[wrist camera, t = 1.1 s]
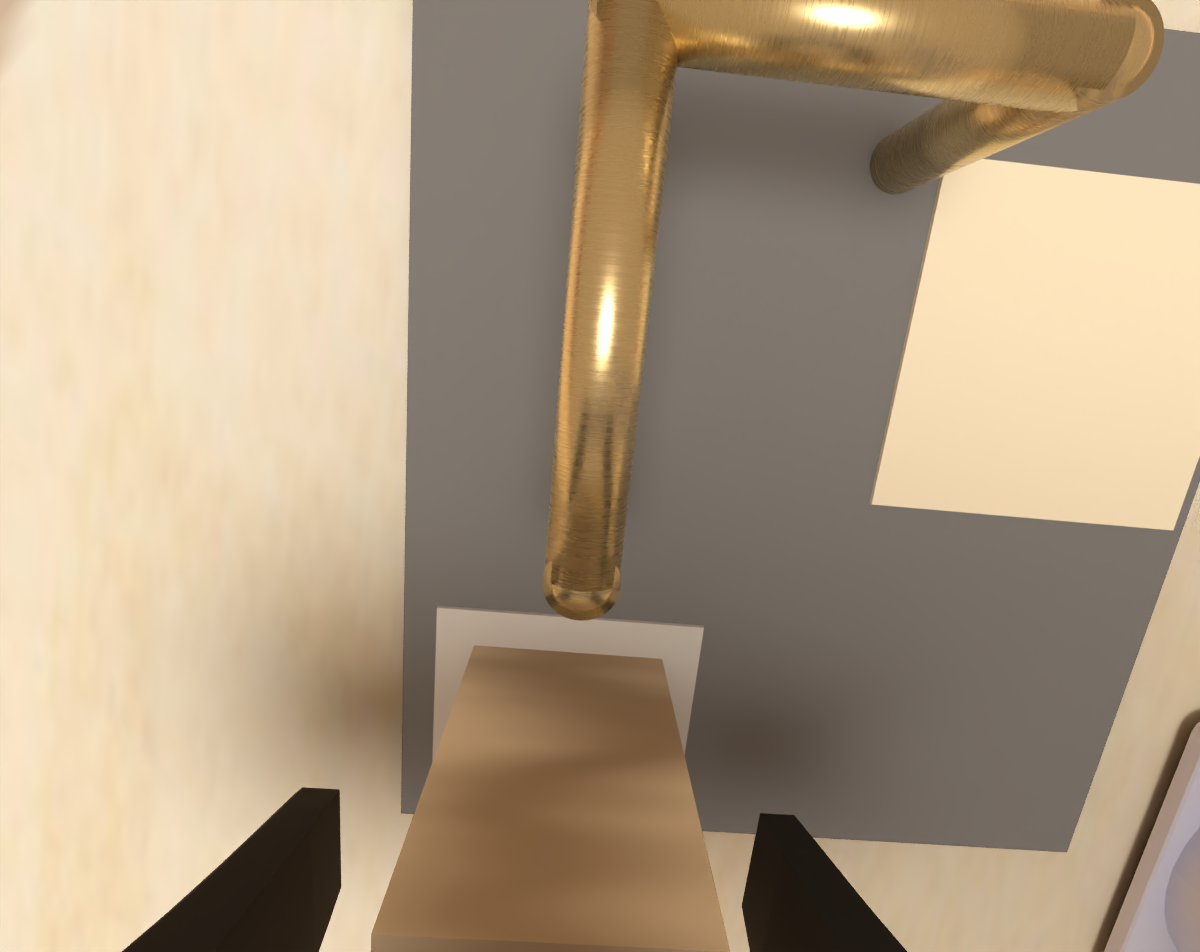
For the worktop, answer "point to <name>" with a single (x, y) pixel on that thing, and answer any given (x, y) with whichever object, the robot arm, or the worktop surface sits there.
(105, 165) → the worktop surface
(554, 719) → the birch block
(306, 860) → the robot arm
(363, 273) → the worktop surface
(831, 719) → the mat
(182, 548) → the worktop surface
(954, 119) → the bent wire
